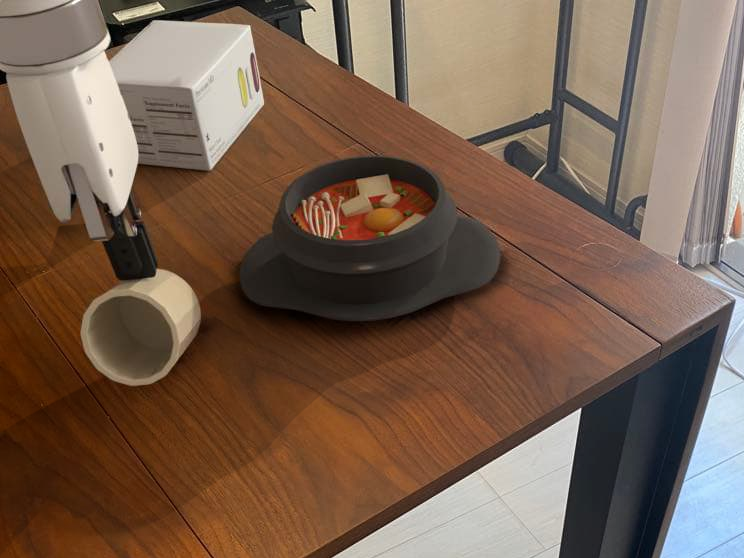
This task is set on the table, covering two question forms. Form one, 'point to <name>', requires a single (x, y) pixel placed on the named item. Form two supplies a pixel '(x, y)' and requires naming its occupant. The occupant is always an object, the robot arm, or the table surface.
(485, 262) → the casserole
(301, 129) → the table surface
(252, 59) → the supplement box
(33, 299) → the table surface
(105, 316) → the cup
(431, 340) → the table surface
